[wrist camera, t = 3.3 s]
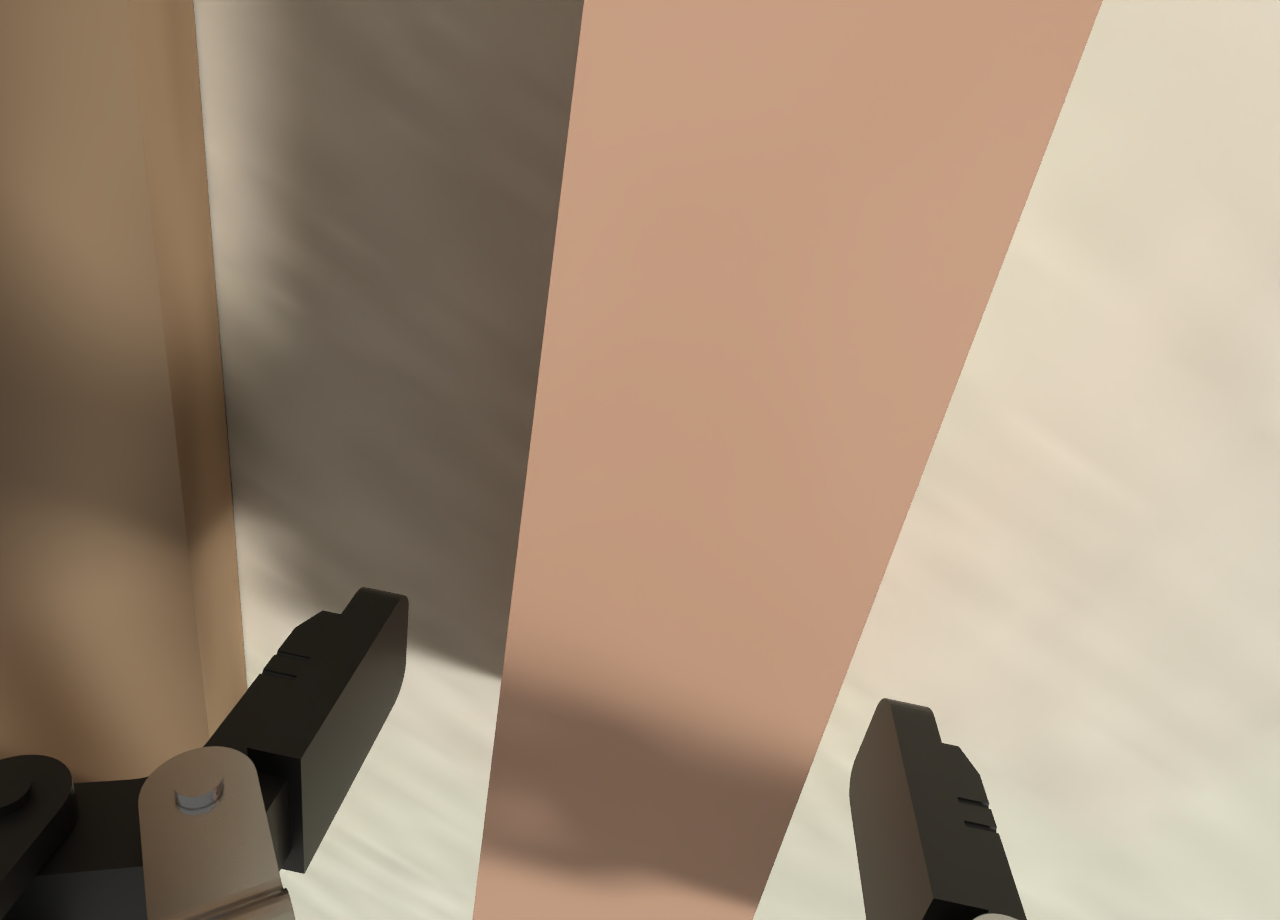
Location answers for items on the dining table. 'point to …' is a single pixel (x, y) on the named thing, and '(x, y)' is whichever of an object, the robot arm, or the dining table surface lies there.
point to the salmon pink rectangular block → (739, 414)
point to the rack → (110, 395)
